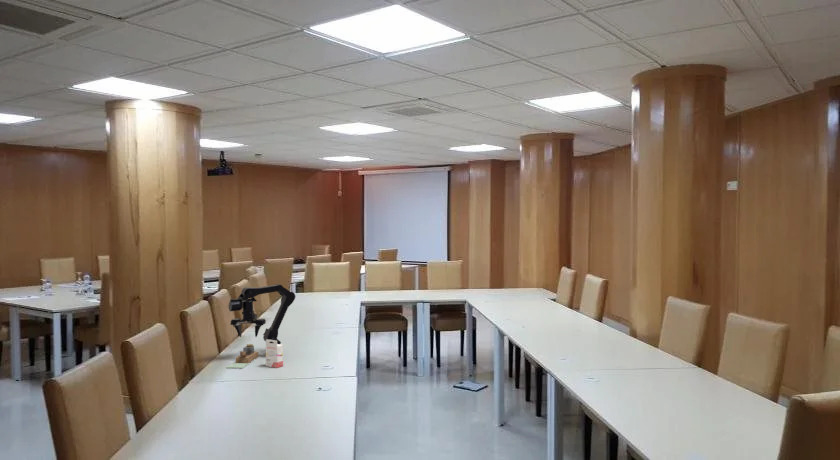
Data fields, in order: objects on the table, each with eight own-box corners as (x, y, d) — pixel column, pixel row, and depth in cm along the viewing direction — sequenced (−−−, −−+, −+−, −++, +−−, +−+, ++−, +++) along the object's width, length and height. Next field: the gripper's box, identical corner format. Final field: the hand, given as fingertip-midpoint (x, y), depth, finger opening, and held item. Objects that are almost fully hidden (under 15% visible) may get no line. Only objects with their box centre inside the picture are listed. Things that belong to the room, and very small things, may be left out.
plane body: (258, 356, 332) (258, 346, 331) (247, 363, 316) (247, 352, 316) (246, 356, 332) (246, 346, 332) (235, 363, 316) (235, 352, 316)
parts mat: (248, 364, 314) (248, 363, 314) (242, 368, 305) (242, 367, 305) (232, 364, 315) (232, 363, 315) (226, 368, 306) (225, 367, 306)
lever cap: (254, 352, 329) (254, 343, 329) (250, 355, 323) (250, 346, 323) (247, 352, 329) (247, 343, 329) (243, 354, 323) (243, 346, 323)
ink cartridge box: (283, 366, 310) (283, 339, 310) (277, 368, 306) (277, 340, 306) (271, 364, 314) (271, 337, 314) (265, 366, 310) (265, 339, 310)
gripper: (268, 307, 333) (269, 334, 333) (238, 307, 335) (238, 333, 335) (261, 310, 322) (262, 338, 322) (229, 310, 323) (230, 337, 324)
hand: (248, 336), depth 326 cm, fingers open, 9 cm apart
